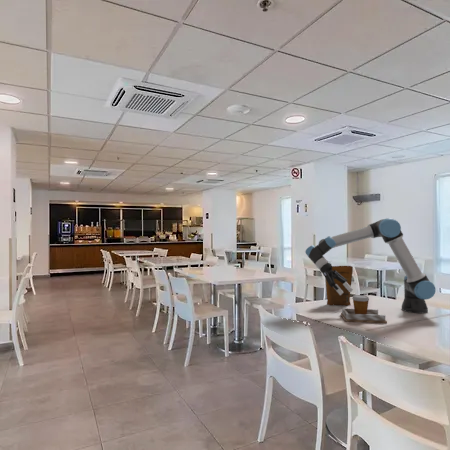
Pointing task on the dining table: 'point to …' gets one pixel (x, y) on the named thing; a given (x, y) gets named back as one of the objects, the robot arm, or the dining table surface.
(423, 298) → the robot arm
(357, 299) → the disposable coffee cup
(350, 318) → the rail board
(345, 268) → the pancake mix bag
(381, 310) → the dining table surface
